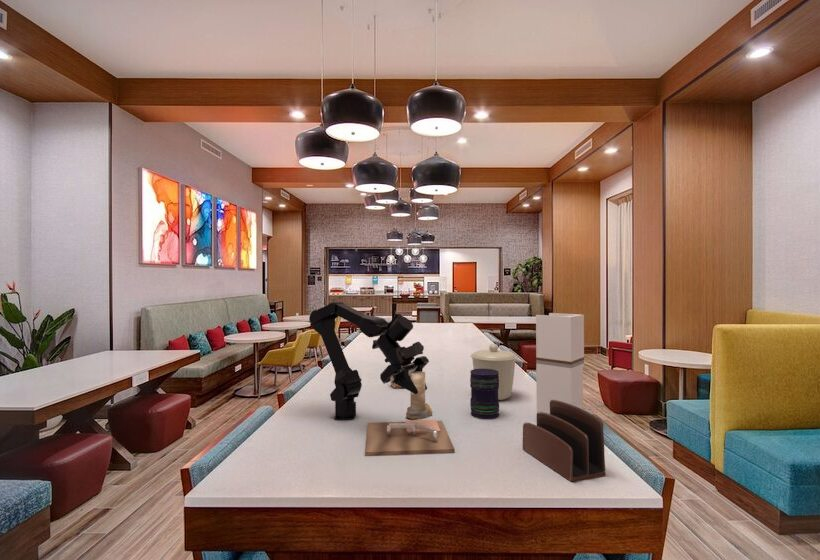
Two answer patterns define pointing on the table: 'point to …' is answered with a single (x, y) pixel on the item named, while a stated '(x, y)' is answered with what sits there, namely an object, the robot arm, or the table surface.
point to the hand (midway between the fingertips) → (421, 391)
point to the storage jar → (484, 393)
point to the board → (405, 441)
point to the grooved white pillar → (559, 359)
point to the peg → (418, 395)
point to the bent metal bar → (414, 427)
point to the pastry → (420, 416)
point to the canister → (497, 367)
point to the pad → (425, 423)
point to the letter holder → (567, 441)
